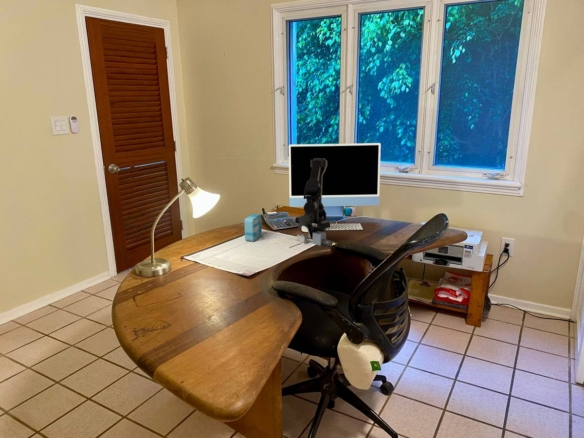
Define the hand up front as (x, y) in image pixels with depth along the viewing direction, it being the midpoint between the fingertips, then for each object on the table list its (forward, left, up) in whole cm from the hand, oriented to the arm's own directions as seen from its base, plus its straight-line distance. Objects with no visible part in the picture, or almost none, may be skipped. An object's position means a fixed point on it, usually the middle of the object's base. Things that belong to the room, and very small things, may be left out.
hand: (312, 238), depth 220 cm
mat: (+10, -9, -2) cm, 14 cm away
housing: (0, -3, -2) cm, 3 cm away
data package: (+16, -26, -2) cm, 31 cm away
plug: (0, +9, -2) cm, 9 cm away
